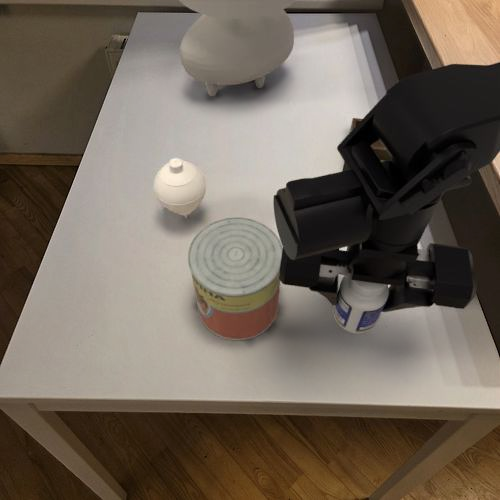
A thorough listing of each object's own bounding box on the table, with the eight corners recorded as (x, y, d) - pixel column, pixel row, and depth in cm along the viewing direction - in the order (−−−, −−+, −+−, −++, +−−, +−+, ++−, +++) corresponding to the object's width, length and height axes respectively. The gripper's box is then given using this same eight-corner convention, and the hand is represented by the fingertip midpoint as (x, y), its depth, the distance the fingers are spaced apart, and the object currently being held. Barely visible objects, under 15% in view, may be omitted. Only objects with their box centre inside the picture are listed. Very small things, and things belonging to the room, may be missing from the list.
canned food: (186, 285, 65) (175, 234, 55) (257, 259, 67) (259, 206, 58) (215, 353, 59) (208, 310, 49) (292, 321, 61) (300, 274, 52)
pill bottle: (380, 302, 55) (399, 261, 48) (372, 339, 52) (391, 302, 45) (337, 290, 56) (350, 248, 49) (327, 326, 53) (339, 287, 46)
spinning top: (200, 241, 69) (191, 187, 60) (154, 229, 71) (138, 175, 61) (216, 205, 74) (211, 149, 64) (173, 195, 75) (161, 138, 65)
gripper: (489, 167, 43) (435, 259, 56) (295, 146, 45) (286, 240, 58) (508, 262, 37) (443, 341, 50) (282, 233, 39) (275, 317, 52)
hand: (358, 305), depth 52 cm, fingers closed on pill bottle, 5 cm apart
